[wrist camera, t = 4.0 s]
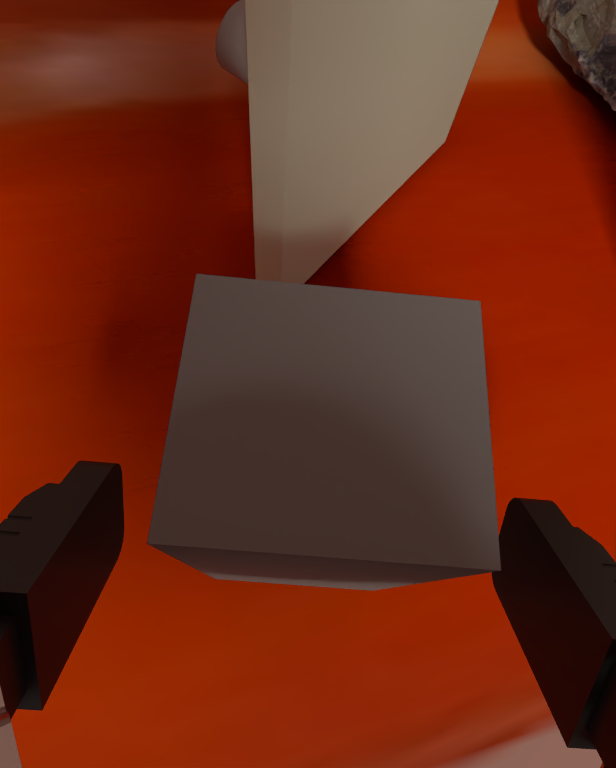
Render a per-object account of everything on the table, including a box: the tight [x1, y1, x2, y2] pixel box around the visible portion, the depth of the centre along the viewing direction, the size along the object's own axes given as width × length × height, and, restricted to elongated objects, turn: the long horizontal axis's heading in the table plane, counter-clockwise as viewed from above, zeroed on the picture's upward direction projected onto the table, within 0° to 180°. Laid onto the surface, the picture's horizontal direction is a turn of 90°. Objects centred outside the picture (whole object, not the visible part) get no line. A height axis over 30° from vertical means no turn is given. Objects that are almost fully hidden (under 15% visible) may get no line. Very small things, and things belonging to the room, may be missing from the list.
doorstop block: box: [147, 274, 501, 590], centre depth 13 cm, size 4×5×10 cm
